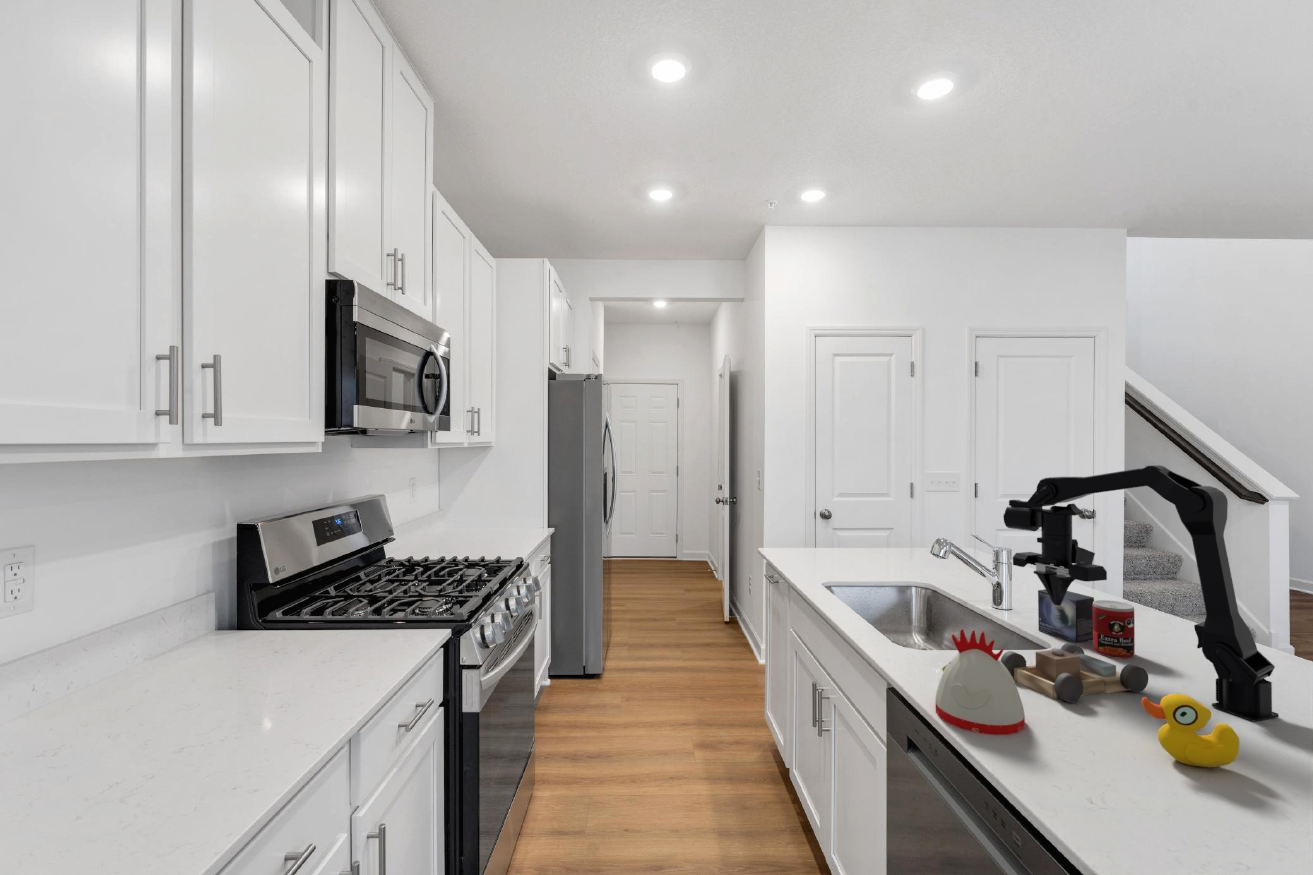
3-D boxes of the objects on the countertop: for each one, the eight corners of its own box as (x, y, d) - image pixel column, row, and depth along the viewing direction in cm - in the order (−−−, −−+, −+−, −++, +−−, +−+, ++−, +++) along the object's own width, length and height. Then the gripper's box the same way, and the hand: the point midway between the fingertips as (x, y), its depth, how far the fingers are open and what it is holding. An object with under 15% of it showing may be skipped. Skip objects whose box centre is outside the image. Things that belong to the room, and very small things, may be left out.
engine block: (1080, 687, 121) (1080, 652, 121) (1056, 690, 119) (1055, 655, 119) (1059, 678, 125) (1059, 645, 125) (1035, 682, 124) (1035, 647, 124)
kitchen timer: (947, 694, 119) (946, 615, 119) (1030, 713, 110) (1029, 629, 111) (925, 719, 108) (924, 633, 109) (1015, 743, 100) (1014, 649, 100)
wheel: (1084, 667, 132) (1084, 644, 132) (1066, 669, 131) (1066, 646, 131) (1076, 664, 134) (1076, 641, 134) (1058, 666, 132) (1058, 643, 133)
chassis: (1148, 692, 119) (1148, 665, 119) (1063, 705, 114) (1062, 677, 114) (1079, 666, 133) (1079, 642, 133) (1000, 676, 127) (999, 652, 128)
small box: (1036, 630, 158) (1035, 589, 158) (1055, 628, 160) (1055, 587, 160) (1075, 643, 148) (1075, 599, 148) (1095, 640, 150) (1095, 597, 150)
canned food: (1095, 655, 140) (1095, 606, 140) (1090, 645, 147) (1090, 598, 147) (1138, 661, 136) (1137, 610, 136) (1130, 650, 143) (1130, 602, 143)
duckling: (1147, 763, 93) (1147, 696, 93) (1137, 747, 98) (1136, 683, 98) (1246, 780, 88) (1246, 709, 88) (1230, 762, 93) (1229, 695, 93)
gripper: (1126, 538, 130) (1127, 613, 130) (1048, 526, 148) (1049, 592, 148) (1085, 541, 127) (1086, 617, 127) (1010, 528, 145) (1011, 596, 145)
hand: (1057, 605), depth 137 cm, fingers closed
